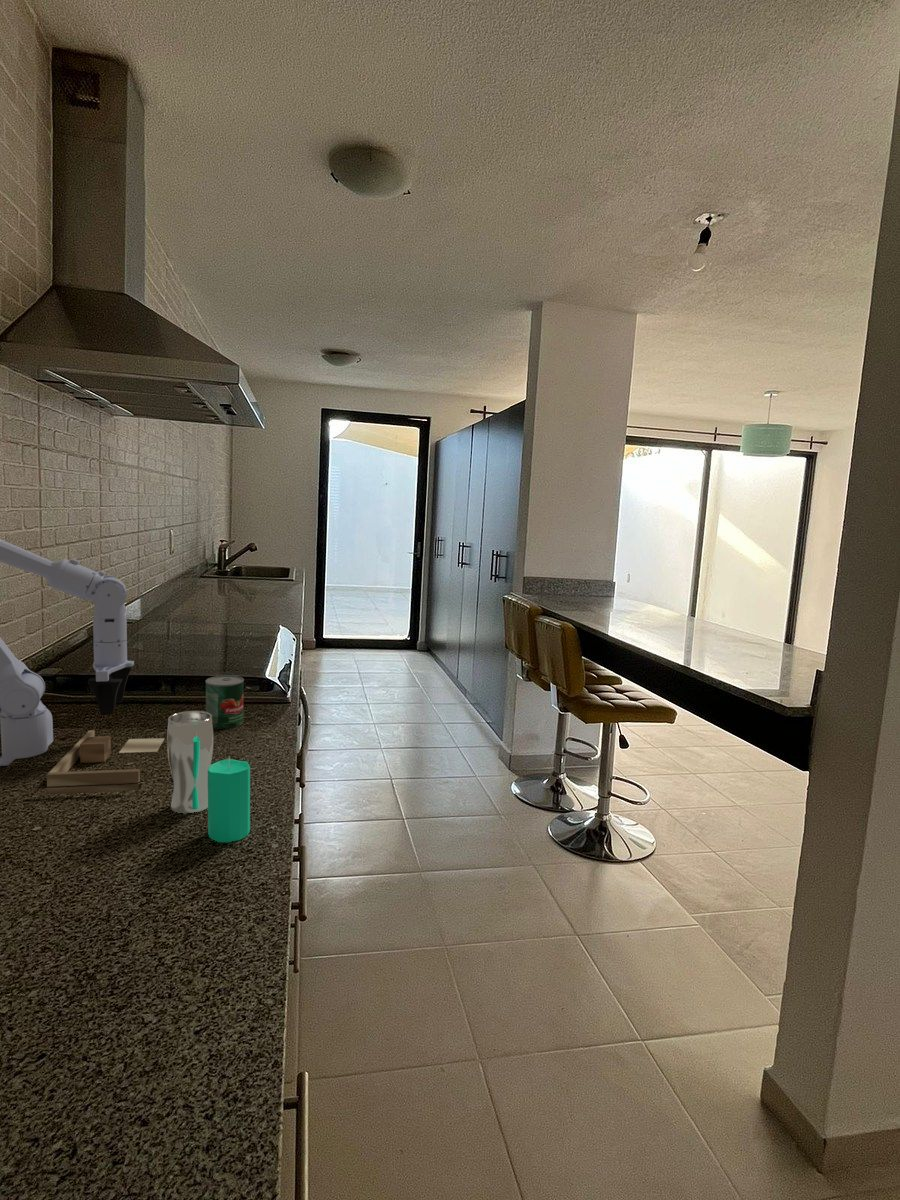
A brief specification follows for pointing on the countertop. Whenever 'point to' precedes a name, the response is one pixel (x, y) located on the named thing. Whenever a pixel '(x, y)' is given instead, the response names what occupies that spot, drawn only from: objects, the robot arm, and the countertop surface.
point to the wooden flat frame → (64, 778)
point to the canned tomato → (225, 701)
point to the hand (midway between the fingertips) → (111, 708)
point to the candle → (228, 800)
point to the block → (95, 749)
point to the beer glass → (190, 759)
